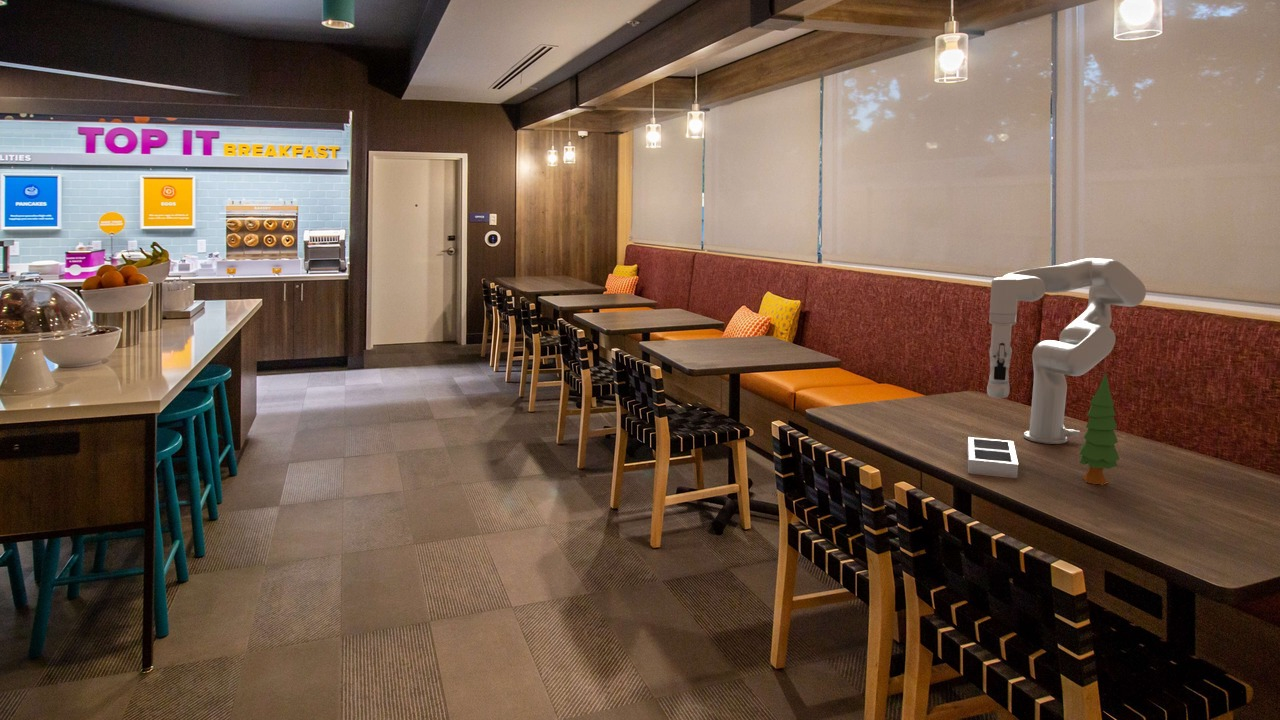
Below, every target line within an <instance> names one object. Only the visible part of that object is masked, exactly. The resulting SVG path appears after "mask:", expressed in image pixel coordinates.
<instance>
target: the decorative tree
mask: <svg viewBox="0 0 1280 720" xmlns="http://www.w3.org/2000/svg"><path fill="white" fill-rule="evenodd" d="M1089 403H1090V404H1091V406H1090V408H1089V409H1088V410H1089V411H1088V413H1087V414H1086V415H1087V416H1088V417H1089V418H1088V420H1087V424H1086V425H1085V429H1086V428H1087V430H1086V432H1085V434H1084V435H1083V437H1082V438H1084V439H1085V441H1084V443H1083V444H1082V445H1081V447H1080V449H1079V455H1080V458H1079V464H1081V465H1088V469H1087V471H1086V473H1085V474H1084V475H1083V476H1082V480H1083V479H1084V480H1085V481H1086V482H1088V483H1087V484H1089V483H1094V484H1093V485H1095V484H1104V483H1106V482H1108V481H1109V480H1107V478H1106V477H1105V475H1104V474H1103V472H1104V469H1108V470H1111V469H1113V468H1115V467H1118V464H1117V461H1119V460H1120V457H1119V454H1118V451H1117V449H1116V446H1115V444H1117V443H1119V441H1118V439H1117V436H1116V434H1115V431H1114V430H1116V429H1118V427H1117V423H1116V420H1115V417H1114V416H1116V412H1115V409H1114V406H1115V404H1114V400H1113V398H1112V395H1111V389H1110V383H1109V379H1108V376H1107V372H1106V371H1105V372H1104V375H1103V378H1102V380H1101V382H1100V385H1099V387H1098V389H1097V391H1096V392H1095V394H1094V395H1093V397H1092V398H1091V400H1090V402H1089ZM1084 480H1083V481H1084ZM1085 481H1084V482H1085ZM1086 482H1085V483H1086ZM1108 483H1109V482H1108Z"/></svg>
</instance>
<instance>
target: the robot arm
mask: <svg viewBox="0 0 1280 720" xmlns="http://www.w3.org/2000/svg"><path fill="white" fill-rule="evenodd" d="M990 286H991V287H990V301H989V316H988V317H989V319H988V323H989V324H991V325H992V326H991V333H990V334H991V339H990V347H991V356H992V357H993V356H996V366H994V379H995V380H1005V377H1006V367H1005V366H1006V358H1007V357H1008V356H1009V349H1010V347H1011V339H1012V329H1013V328H1012V326H1015V325H1017V318H1018V317H1017V315H1018V302H1020V301H1021V302H1036V301H1038V300H1040V299H1041V298H1042V297H1044V296H1045V294H1046V293H1048V294H1049V293H1052V294H1057V293H1066V292H1069V291H1071V292H1072V291H1074V290H1077V289H1078V290H1079V289H1081V288H1086V287H1089V290H1088V302H1087V303H1088V304H1087V307H1086V309H1085V310H1084V312H1082V313H1081V314H1080V315H1079V316H1077V318H1075V319H1074V320H1072V321H1071V322H1070V323H1069V324H1068V325H1066V326H1065V327H1064V328H1063V329H1062V330H1061V332H1060V334H1059V338H1058V339H1059V341H1058V340H1053V339H1052V340H1051V339H1046V340H1042V341H1040V342H1038V343H1037V344H1036V345H1035V346H1034V348H1033V350H1032V355H1031V356H1032V367H1033V368H1032V369H1033V386H1032V395H1031V397H1032V399H1031V410H1030V421H1029V430H1026V431H1024V432H1023V438H1025V440H1028V441H1031V442H1035V443H1040V444H1046V445H1048V444H1050V445H1060V444H1065V443H1068V437H1075V438H1076V437H1077V438H1079V437H1080V430H1075V429H1072V428H1071V429H1070V428H1069V429H1068V428H1066V427H1065V425H1064V421H1065V420H1064V419H1065V412H1066V411H1065V410H1066V401H1067V400H1066V399H1067V390H1068V383H1067V379H1066V377H1065V375H1066V376H1071V377H1080V376H1082V375H1085V374H1086V373H1088V372H1089V371H1090V370H1092V369H1093V368H1094V367H1095V366H1097V364H1099V363H1100V362H1101V361H1102V360H1104V359H1105V358H1106V357H1107V356H1108V355H1109V354H1110V353H1111V352H1112V350H1113V349H1114V346H1115V344H1116V340H1117V339H1116V337H1117V336H1116V334H1115V332H1114V331H1115V330H1113V329H1112V328H1111V327H1110V326H1111V324H1112V321H1113V318H1112V311H1111V310H1112V309H1111V305H1112V306H1121V307H1129V308H1131V307H1132V308H1133V307H1137V306H1139V305H1140V304H1142V303H1143V302H1144V300H1145V298H1146V295H1147V290H1146V286H1145V284H1144V283H1143V281H1142V280H1141V279H1140V278H1139V277H1138V276H1137V275H1135V274H1134V273H1133V272H1132V271H1131V270H1130V269H1129V268H1128V267H1127V266H1125V265H1124V264H1123V263H1122V262H1120V261H1118V260H1115V259H1111V258H1097V257H1096V258H1095V257H1089V258H1088V257H1087V258H1083V259H1078V260H1075V261H1069V262H1065V263H1062V264H1058V265H1049V266H1048V265H1047V266H1043V267H1036V268H1027V269H1022V270H1017V271H1013V272H1009V273H1006V274H1004V275H1003V276H1000V277H999V276H997V277H995V278H992V281H991V284H990ZM999 344H1000V349H999ZM1006 353H1007V355H1006ZM998 354H999V356H997V355H998ZM1004 354H1005V357H1004Z"/></svg>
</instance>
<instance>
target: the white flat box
mask: <svg viewBox="0 0 1280 720" xmlns="http://www.w3.org/2000/svg"><path fill="white" fill-rule="evenodd" d="M966 449H967V451H966V452H967V473H968V474H971V475H980V476H981V475H982V476H989V477H990V476H991V477H999V478H1007V479H1008V478H1011V479H1018V472H1019V461H1018V457H1017V452H1016V448H1015V442H1014V441H1013V440H1007V439H1006V440H1003V439H994V438H984V437H983V438H982V437H973V436H972V437H971V436H968V437H967V447H966Z"/></svg>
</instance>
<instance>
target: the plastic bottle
mask: <svg viewBox="0 0 1280 720" xmlns="http://www.w3.org/2000/svg"><path fill="white" fill-rule="evenodd" d="M999 349H1000V344H999ZM988 352H989V361H990V362H989V366H990V367H989V376H988V377H989V379H988V381H987V382H988V383H987V388H986V394H987V395H988V396H989V397H990V398H994V399H1006V398H1008V396H1009V394H1010V391H1011V390H1010V381H1009V378H1010V377H1009V371H1010V365H1011V364H1010V363H1011V357H1012V354H1013V353H1012V352H1013V349H1012V347H1011V346H1010V349H1009V356H1008V357H1007V358H1006V366H1005V367H1006V377H1005V380H995V379H994V366H996V356H993V357H992V356H991V346H990V347H989V351H988ZM1006 355H1007V353H1006ZM997 356H999V354H998V355H997ZM1004 357H1005V354H1004Z"/></svg>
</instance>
